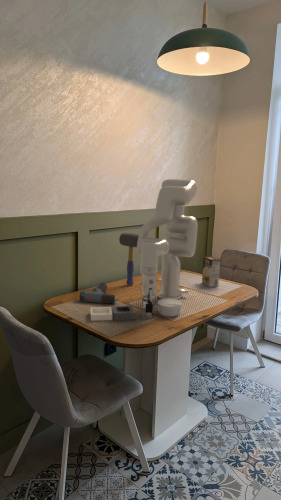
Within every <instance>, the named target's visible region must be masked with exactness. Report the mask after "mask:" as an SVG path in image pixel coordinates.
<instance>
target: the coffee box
mask: <svg viewBox="0 0 281 500" xmlns="http://www.w3.org/2000/svg"><path fill="white" fill-rule="evenodd" d="M220 270H221V259H220V258H217V257H215V256H203V264H202V275H201V277H202V278H201V283H202V284H203V285H205V286H207V287H209V288H212V287H213V288H214V287H218V286H219V285H220V284H219V281H220Z"/></svg>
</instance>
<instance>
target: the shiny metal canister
mask: <svg viewBox="0 0 281 500" xmlns="http://www.w3.org/2000/svg"><path fill="white" fill-rule="evenodd" d="M147 297H150V296H147ZM142 300H143V306H142V318H143V319H144V320H151V319H152V317H153V315H152V314H153V313H146V312H145V308H146V297H143V296H142ZM148 300H149V298H148Z"/></svg>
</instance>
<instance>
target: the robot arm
mask: <svg viewBox="0 0 281 500" xmlns="http://www.w3.org/2000/svg"><path fill="white" fill-rule="evenodd" d="M197 190H198V185H197V183H196V181H195V180H192V179H178V178H177V179H175V178H173V179H170V178H169V179H165V180H163V181H162V182H161V188H160V189H159V192H158V195H157V199H156V204H155V208H154V213H153V215H152V216H151V217H150V218H149V219H148V220H147V221H146V222H145V223H144V224H143V225H142V227H141V228H140V230H139V234H138V235H139V237H138V242H137V247H136V248H137V252H139V253H140V269H139V271H140V272H139V273H140V275H142V276H141V277H142V278H141V292H142V298H143V297H146V308H145V312H146V313H152V314H153V312H154V298H156V297H158V299H164V298H170V299H176V300H180V299H182V295H183V294H185V295H186V294H187V295H188V294H189V290H188V289H185V288H182V289H181V288H180V283H181V282H180V280H181V279H180V278H181V277H180V276H181V262H180V260H179V258H178V257H184V258H192V257H194V256H195V253H196V248H197V239H198V238H197V236H198V228H199V226H198V220H197V218H196V217H194V216H191V215H190V216H189V215H185V206H187V205H189V204H190V202H191V201H192V200H193V199H194V197H195V196H196V194H197ZM163 225H165V230H166V232H167V233H168V234H173V235H182V236H183V235H184V236H186V237H180V236H170V235H169V236H165V237H163V238H155V237H148V236H149V234H150V232H151V231H153V230H154V229H156V228H158V227H160V226H163ZM159 257H161V274H160V275H161V276H160V277H161V278H160V291H159V292H157V275H158V274H159V273H158V272H159ZM147 296H150V297H147ZM148 298H149V300H148ZM141 300H142V302H141V303H142V305H141V306H142V307H143V299H141Z"/></svg>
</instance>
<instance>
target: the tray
mask: <svg viewBox="0 0 281 500" xmlns="http://www.w3.org/2000/svg"><path fill="white" fill-rule="evenodd" d="M89 308H90V310H89V312H90V321H92V322H93V321H113V316H112V306H97V307H95V306H93V307H92V306H91V307H89Z"/></svg>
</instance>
